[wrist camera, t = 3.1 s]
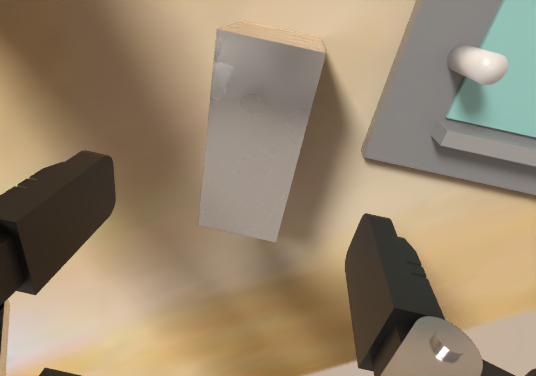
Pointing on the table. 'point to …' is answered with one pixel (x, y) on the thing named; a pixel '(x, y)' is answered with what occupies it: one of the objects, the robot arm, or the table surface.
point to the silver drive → (256, 125)
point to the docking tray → (463, 94)
